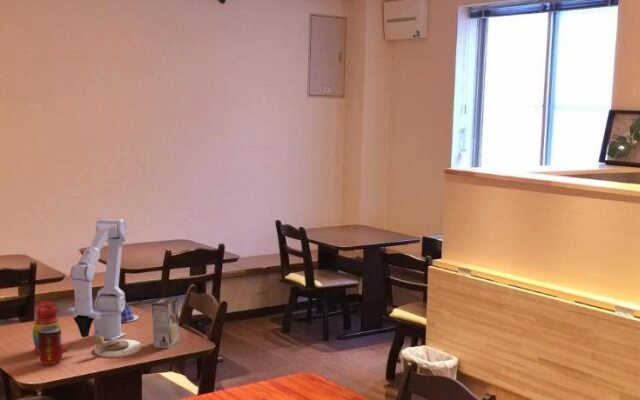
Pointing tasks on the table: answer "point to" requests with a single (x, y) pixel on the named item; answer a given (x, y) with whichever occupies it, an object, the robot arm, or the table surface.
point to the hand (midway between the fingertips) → (85, 336)
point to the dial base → (131, 349)
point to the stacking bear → (45, 321)
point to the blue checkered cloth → (128, 315)
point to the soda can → (50, 345)
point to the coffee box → (165, 322)
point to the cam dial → (110, 344)
